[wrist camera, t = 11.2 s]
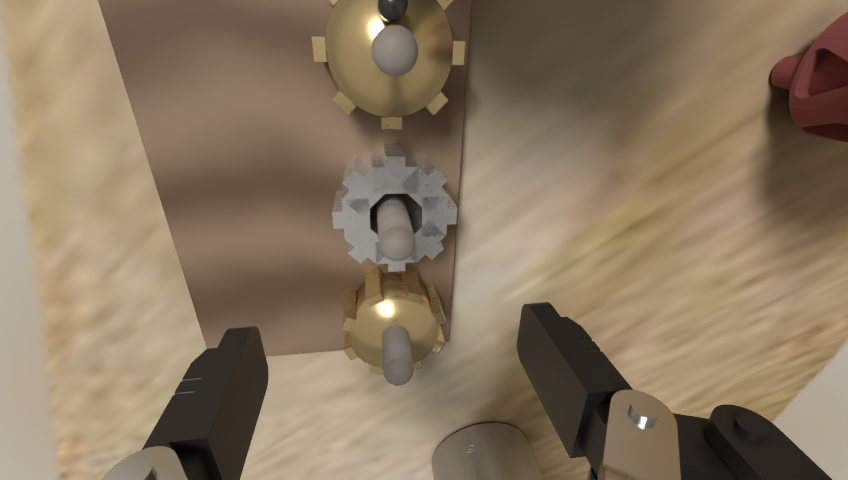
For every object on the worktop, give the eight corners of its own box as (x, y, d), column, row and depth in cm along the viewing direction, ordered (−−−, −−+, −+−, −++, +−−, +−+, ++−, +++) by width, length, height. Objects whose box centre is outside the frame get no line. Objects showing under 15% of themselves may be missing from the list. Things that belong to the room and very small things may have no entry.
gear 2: (450, 321, 26) (460, 351, 23) (368, 353, 26) (369, 387, 24) (418, 250, 23) (424, 276, 20) (326, 287, 23) (321, 318, 21)
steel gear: (448, 142, 20) (460, 156, 18) (443, 243, 23) (453, 268, 20) (332, 143, 19) (326, 157, 17) (341, 248, 22) (337, 274, 20)
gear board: (445, 332, 28) (470, 419, 21) (216, 349, 25) (164, 452, 19) (468, -29, 18) (528, -76, 11) (96, -50, 16) (-97, -123, 9)
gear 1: (447, 118, 20) (470, 137, 15) (327, 118, 19) (315, 138, 14) (453, -24, 17) (485, -50, 13) (313, -31, 16) (294, -62, 12)
